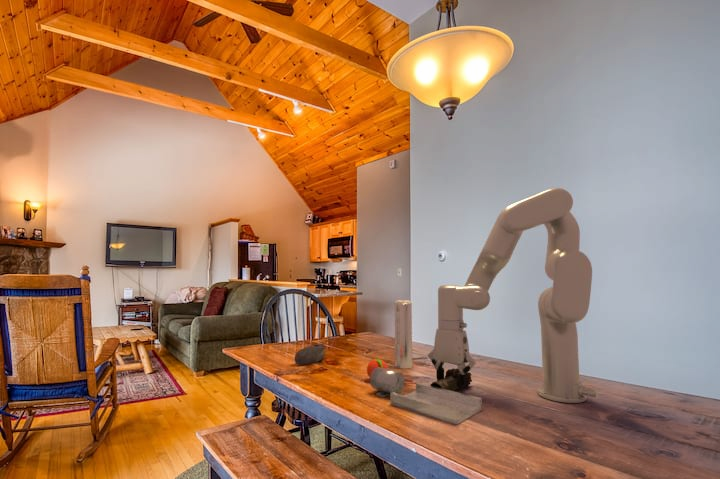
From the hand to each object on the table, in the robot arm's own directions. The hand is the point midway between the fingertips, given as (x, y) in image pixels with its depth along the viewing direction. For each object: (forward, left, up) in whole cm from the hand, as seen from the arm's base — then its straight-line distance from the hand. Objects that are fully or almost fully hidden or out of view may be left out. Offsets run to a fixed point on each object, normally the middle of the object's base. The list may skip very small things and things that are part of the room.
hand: (451, 384), depth 116 cm
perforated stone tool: (+58, +8, -2) cm, 58 cm away
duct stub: (+12, +16, -2) cm, 20 cm away
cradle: (-4, +16, -2) cm, 17 cm away
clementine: (+23, +8, -2) cm, 24 cm away
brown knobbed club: (0, 0, -2) cm, 2 cm away
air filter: (+28, -13, -2) cm, 31 cm away
